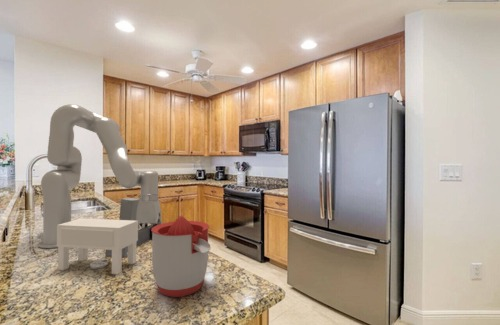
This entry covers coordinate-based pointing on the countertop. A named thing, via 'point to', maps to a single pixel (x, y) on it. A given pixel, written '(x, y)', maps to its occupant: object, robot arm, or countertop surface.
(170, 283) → the citrus juicer
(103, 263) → the disc
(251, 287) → the countertop surface
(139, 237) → the dark grey bar
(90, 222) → the white footstool
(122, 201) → the skincare box
